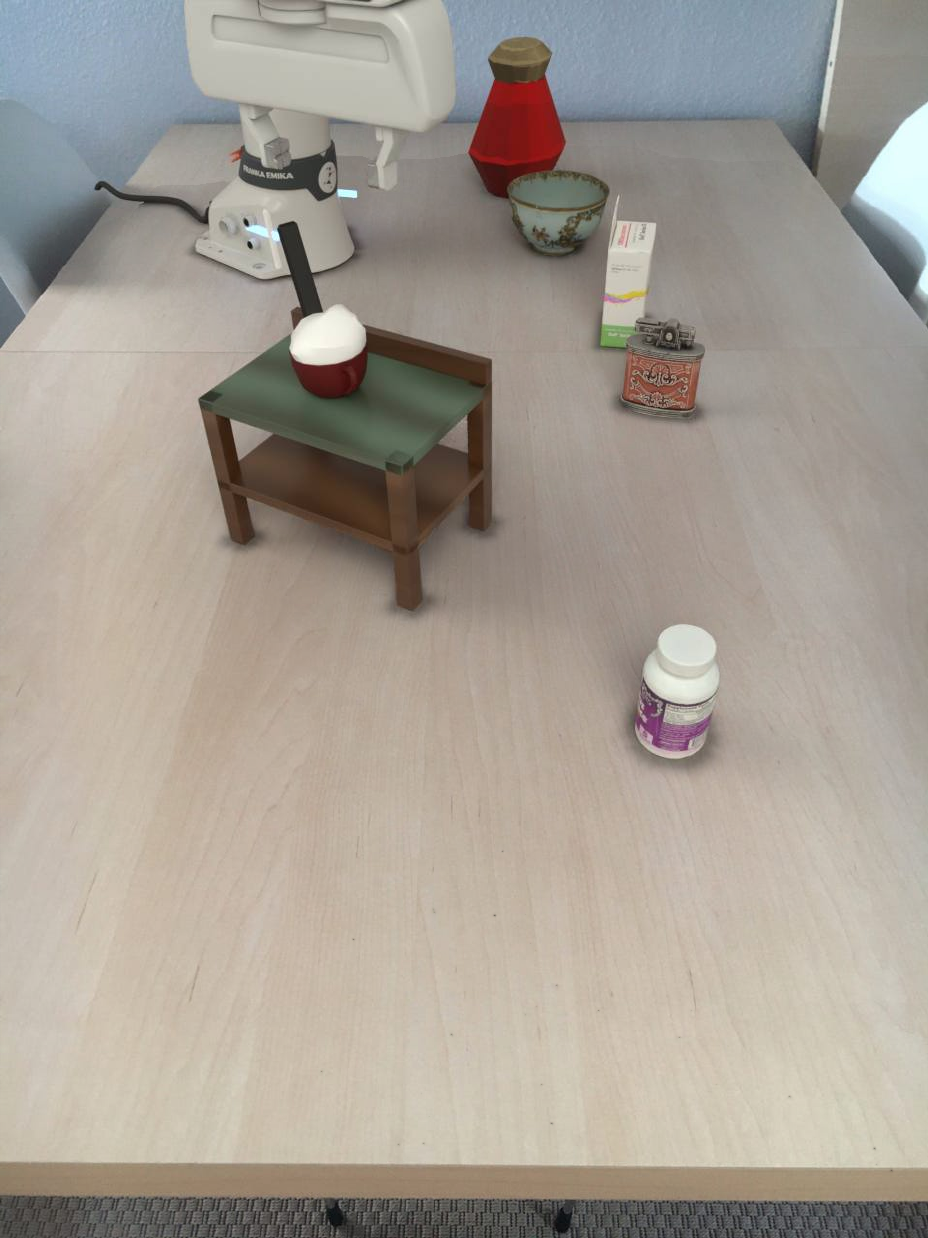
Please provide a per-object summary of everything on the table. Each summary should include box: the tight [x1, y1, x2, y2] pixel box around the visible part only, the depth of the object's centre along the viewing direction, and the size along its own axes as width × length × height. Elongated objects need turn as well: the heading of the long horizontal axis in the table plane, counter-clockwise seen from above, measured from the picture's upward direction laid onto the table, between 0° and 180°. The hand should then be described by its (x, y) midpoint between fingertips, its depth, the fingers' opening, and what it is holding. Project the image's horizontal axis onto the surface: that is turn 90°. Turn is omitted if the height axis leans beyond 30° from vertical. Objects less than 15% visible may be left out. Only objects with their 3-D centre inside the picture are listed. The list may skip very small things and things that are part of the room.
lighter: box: [619, 317, 706, 419], centre depth 103 cm, size 8×3×10 cm, turn 71°
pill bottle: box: [634, 623, 721, 760], centre depth 71 cm, size 5×5×10 cm
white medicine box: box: [599, 194, 657, 349], centre depth 114 cm, size 9×5×15 cm, turn 168°
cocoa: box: [277, 221, 368, 398], centre depth 78 cm, size 10×6×12 cm, turn 8°
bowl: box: [507, 169, 610, 257], centre depth 134 cm, size 14×13×8 cm
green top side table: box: [197, 306, 493, 612], centre depth 86 cm, size 14×20×17 cm
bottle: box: [467, 36, 567, 199], centre depth 146 cm, size 16×14×20 cm
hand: (329, 176), depth 72 cm, fingers open, 8 cm apart
